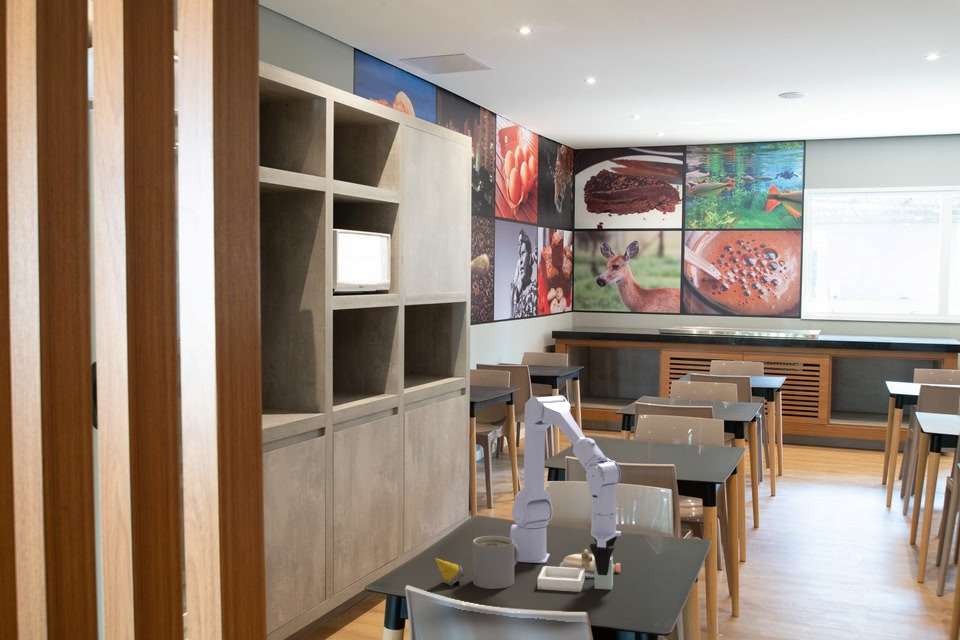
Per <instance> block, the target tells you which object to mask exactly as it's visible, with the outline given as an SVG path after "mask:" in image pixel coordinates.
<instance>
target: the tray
mask: <svg viewBox="0 0 960 640" xmlns="http://www.w3.org/2000/svg"><path fill="white" fill-rule="evenodd" d="M585 579H586V578H585V568H568V567H560V566H549V565H548V566H547V565H544V566H543V567H542V568H541V570H540V572H539V574H538V576H537V590H547V591H562V592H577V593H581V591H582V589H583V586H584V582H585Z"/></svg>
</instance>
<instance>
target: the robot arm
mask: <svg viewBox="0 0 960 640" xmlns="http://www.w3.org/2000/svg"><path fill="white" fill-rule="evenodd" d="M552 425H553V426H557V427H558V429H559V430H560V431H561V432H562V434H563V435H564V436H565V437H566V438H567V440H569V441H570V443H571V445H573V449H572V452H573V455H574V456H575V458H576V459H577V460H578V462H579V463H580V465H581V466H582V468H583V469H584V470H585V472H586V473H585V478H586V482H587V484H588V488H589V489H588V490H589V494H590V495H591V496H590V497H591V498H590V499H591V502H590V503H591V509H590V510H591V530H590V536H591V537H592V538H593V539H594V543H590V544H589V549H590V551H591V552H592V553H591V554H593V555H594V558H595V562H596V568H597V572H598V575H607V574H608V569H609V562H610V557H611V555H613V552H614V551H615V550H614V549H615V548H616V546H614V545H615V542H616V540H617V538H618V537H620V536H622V532H621V530H617V524H616V523H617V520H616V519H617V513H616V512H617V505H616V504H617V503H616V502H617V501H616V499H617V496H616V495H617V494H616V493H617V492H616V491H617V490H616V489H617V488H616V487H617V485H618V484H619V483H620V481H621V477H622V473H621V472H622V471H621V468H620V466H619V464H618V463H617V462H616V461H615V460H612V459H610V458H609V457H606V456H605V455H604V453H603V451H602V450H601V449H600V448H599V446H598V445H597V442H596V441H595V440H594V439H593V438H592V437H586V436H585V435H584V432H583V431H582V430H581V429H580V427H579V425H578V424H577V422H576V420H575V419H574V417H573V415H572V413H571V404H570V403H569V402H568V401H567V399H566V397H565V396H564V395H561V394H558V395H552V396H551V395H550V396H540V397H539V396H538V397H537V396H533V397H531V398H529V399H528V400H527V401H526V402H524V448H523V449H524V453H523V454H524V455H523V488H522V489H521V490H520V491H519V492H518V493H516V494H515V495H514V500H513V501H514V502H513V506H512V508H511V516H512V519H513V522H515V524H512V525H511V527H510V533H509V538H511V539H513V540H514V544H516V545H517V546H518V549H519V558H518V562H517V563H532V564H533V563H534V564H547V562H548V560H549V558H550V555H551V554H550V553H547V526H548V525H549V522H550V521H551V520H552V518H553V515H554V507H553V504H552V495H551V494H550V493H549V492H548V491H546V489H545V462H546V460H545V459H546V430H547V429H549V428H550V426H552Z"/></svg>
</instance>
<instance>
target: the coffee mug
mask: <svg viewBox="0 0 960 640" xmlns="http://www.w3.org/2000/svg"><path fill="white" fill-rule="evenodd" d="M518 558H519V549H518V546H517V545H516V544H514V540H513V539H511V538H510V536H509V537H508V536H505V535H484V536H479V537H475V538H474V539H473V541H472V583H473V585H474V586H476V587H479V588H481V589H487V590H488V589H489V590H492V589H493V590H494V589H495V590H496V589H498V590H500V589H506V588H510V587H511V586H513V585H514V584H515V567H516V566H517V563H519V562H518Z"/></svg>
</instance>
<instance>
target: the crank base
mask: <svg viewBox="0 0 960 640" xmlns="http://www.w3.org/2000/svg"><path fill="white" fill-rule="evenodd" d="M559 567H565V566H564V560H562V561H561V562H560V563H559ZM617 573H621V563H620V562H616V563H615V564H614V563H613V575H614V574H617ZM585 579H595V572H585Z"/></svg>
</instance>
